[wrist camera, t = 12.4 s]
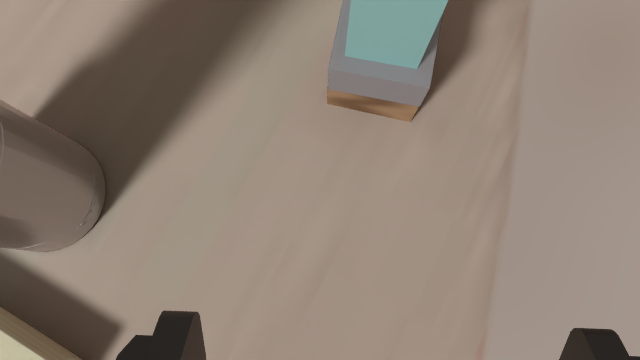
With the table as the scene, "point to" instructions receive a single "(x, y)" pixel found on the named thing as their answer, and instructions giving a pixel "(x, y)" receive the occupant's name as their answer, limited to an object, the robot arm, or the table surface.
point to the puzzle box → (27, 342)
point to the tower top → (379, 70)
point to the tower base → (371, 105)
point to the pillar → (392, 30)
